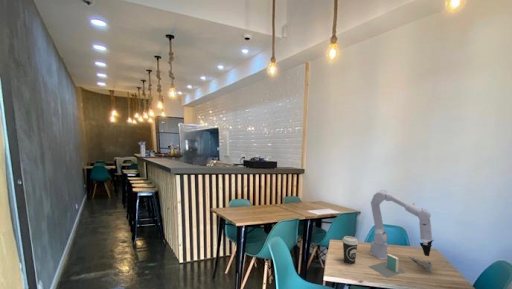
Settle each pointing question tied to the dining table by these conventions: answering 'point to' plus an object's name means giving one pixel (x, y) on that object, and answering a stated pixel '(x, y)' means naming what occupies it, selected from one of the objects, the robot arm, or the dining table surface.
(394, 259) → the tile
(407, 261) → the dining table surface
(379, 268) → the mat
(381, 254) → the robot arm
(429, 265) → the caliper
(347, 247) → the coffee cup
